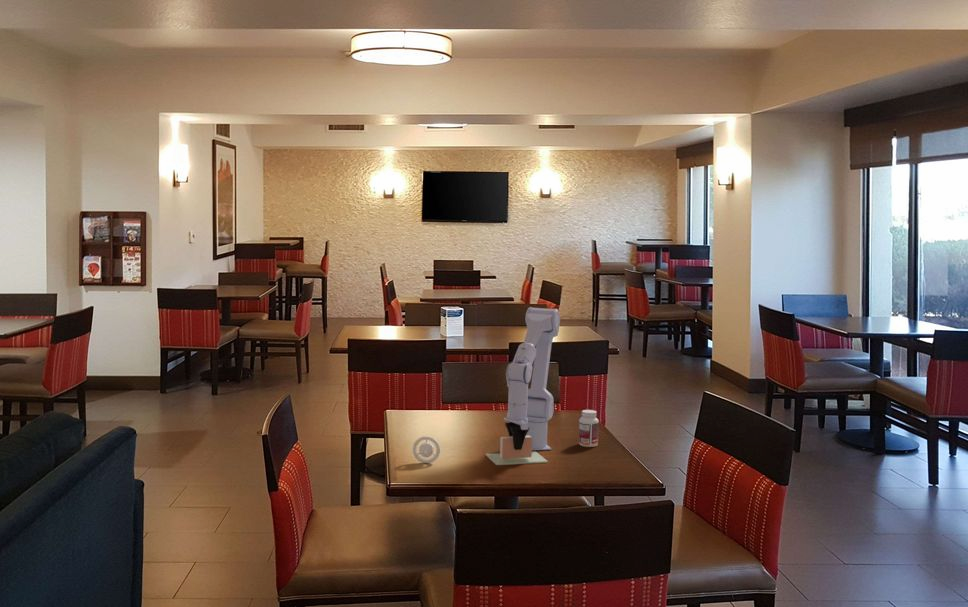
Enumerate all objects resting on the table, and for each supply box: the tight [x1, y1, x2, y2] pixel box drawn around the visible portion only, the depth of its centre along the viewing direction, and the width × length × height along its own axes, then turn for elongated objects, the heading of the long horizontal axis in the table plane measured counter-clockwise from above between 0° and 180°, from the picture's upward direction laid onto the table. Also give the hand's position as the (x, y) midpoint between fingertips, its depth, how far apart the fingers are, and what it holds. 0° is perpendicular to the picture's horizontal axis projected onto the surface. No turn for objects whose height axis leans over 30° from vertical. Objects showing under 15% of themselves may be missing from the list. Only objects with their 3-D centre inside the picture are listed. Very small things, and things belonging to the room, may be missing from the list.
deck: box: [499, 435, 533, 459], centre depth 266 cm, size 2×9×6 cm, turn 106°
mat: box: [485, 451, 549, 466], centre depth 270 cm, size 11×16×1 cm
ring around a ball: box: [412, 435, 441, 464], centre depth 261 cm, size 8×6×8 cm
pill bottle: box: [578, 409, 600, 448], centre depth 288 cm, size 6×6×11 cm
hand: (516, 448), depth 266 cm, fingers closed on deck, 2 cm apart
